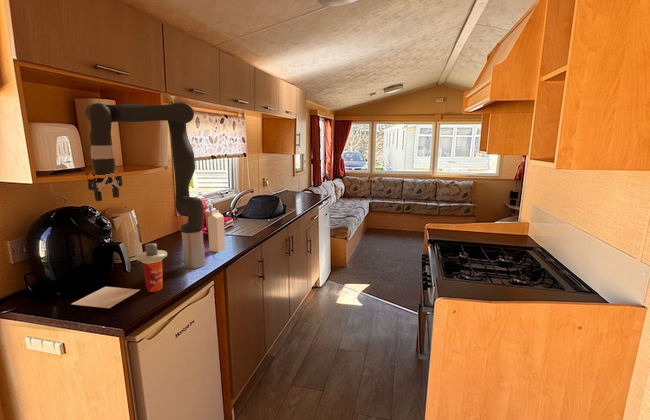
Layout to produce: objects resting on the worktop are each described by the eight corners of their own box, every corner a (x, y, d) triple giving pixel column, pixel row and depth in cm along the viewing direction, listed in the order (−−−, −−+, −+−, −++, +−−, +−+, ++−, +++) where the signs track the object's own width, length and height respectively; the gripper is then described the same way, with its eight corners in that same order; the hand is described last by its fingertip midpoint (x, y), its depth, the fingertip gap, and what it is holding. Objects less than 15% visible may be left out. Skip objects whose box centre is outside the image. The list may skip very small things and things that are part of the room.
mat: (105, 287, 142) (105, 286, 142) (140, 291, 140) (140, 289, 139) (70, 305, 127) (70, 304, 127) (109, 309, 124) (109, 308, 124)
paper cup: (156, 295, 136) (152, 260, 133) (139, 293, 138) (136, 259, 135) (169, 287, 143) (167, 254, 141) (154, 285, 145) (151, 252, 143)
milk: (225, 249, 195) (223, 210, 190) (218, 252, 189) (216, 212, 185) (216, 248, 197) (214, 209, 193) (209, 251, 191) (207, 211, 187)
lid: (148, 251, 144) (147, 240, 143) (173, 253, 142) (172, 241, 141) (129, 260, 133) (128, 247, 133) (155, 262, 132) (154, 249, 131)
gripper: (108, 156, 142) (113, 196, 145) (78, 158, 129) (84, 201, 132) (125, 156, 141) (129, 196, 144) (96, 158, 127) (101, 202, 130)
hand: (107, 199), depth 138 cm, fingers open, 8 cm apart
